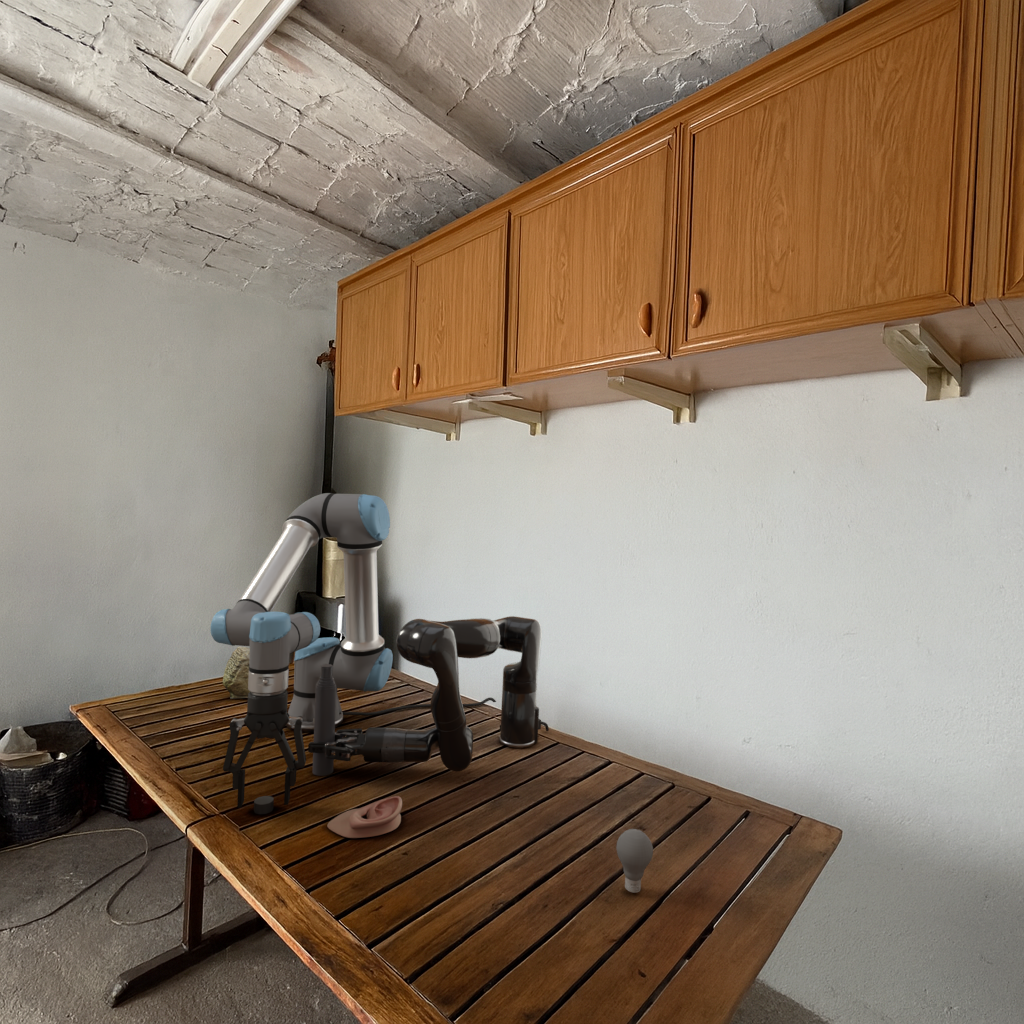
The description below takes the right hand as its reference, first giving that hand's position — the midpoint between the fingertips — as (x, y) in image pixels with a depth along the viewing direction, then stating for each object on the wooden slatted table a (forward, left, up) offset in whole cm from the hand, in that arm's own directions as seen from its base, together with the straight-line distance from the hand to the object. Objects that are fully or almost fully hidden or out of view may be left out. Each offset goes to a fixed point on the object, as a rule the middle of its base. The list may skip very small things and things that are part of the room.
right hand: (312, 742), depth 146 cm
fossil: (+7, -62, -7) cm, 63 cm away
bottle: (-2, +1, -7) cm, 7 cm away
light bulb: (-41, +66, -7) cm, 78 cm away
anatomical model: (-6, +28, -7) cm, 29 cm away
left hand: (+12, +15, -5) cm, 20 cm away
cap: (+12, +15, -5) cm, 20 cm away
